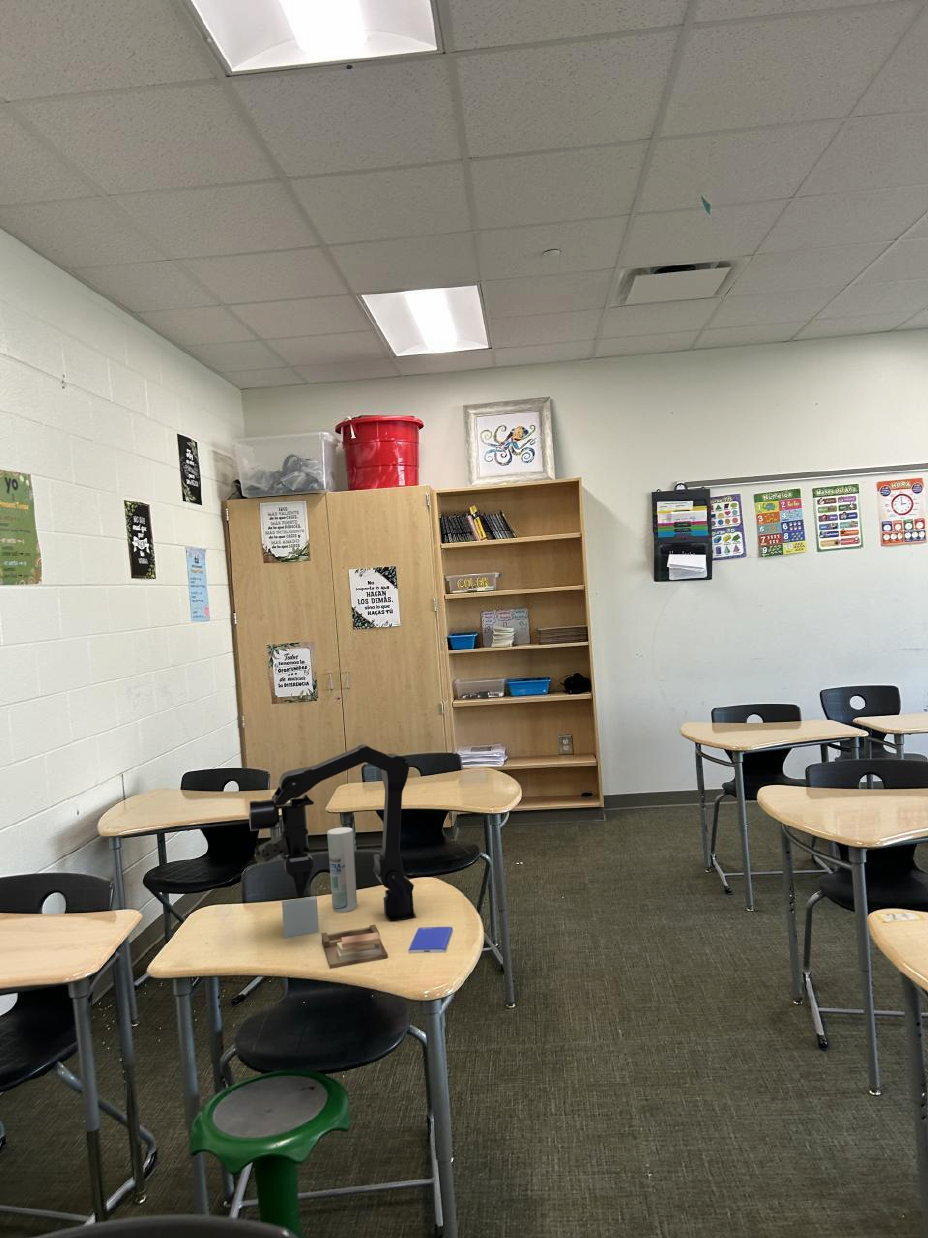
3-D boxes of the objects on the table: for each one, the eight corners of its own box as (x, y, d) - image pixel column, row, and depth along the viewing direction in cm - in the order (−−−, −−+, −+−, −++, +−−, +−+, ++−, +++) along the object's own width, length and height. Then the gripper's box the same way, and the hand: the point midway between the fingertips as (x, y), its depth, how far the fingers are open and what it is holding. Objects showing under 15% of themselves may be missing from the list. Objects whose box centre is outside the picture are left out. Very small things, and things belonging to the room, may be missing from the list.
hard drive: (417, 927, 188) (408, 948, 176) (452, 926, 187) (445, 948, 175) (418, 934, 188) (408, 956, 176) (453, 933, 187) (445, 955, 175)
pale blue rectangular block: (318, 929, 194) (315, 896, 194) (319, 933, 192) (316, 899, 192) (283, 935, 192) (281, 901, 192) (284, 938, 190) (282, 904, 190)
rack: (375, 933, 189) (374, 924, 189) (387, 958, 174) (387, 947, 174) (322, 943, 185) (321, 933, 185) (329, 968, 171) (329, 958, 171)
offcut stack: (378, 945, 179) (377, 930, 179) (382, 954, 174) (381, 938, 174) (336, 953, 177) (335, 937, 177) (339, 961, 172) (338, 945, 172)
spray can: (326, 910, 207) (321, 832, 208) (346, 902, 212) (341, 826, 213) (344, 914, 203) (338, 834, 204) (363, 906, 208) (357, 828, 208)
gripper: (258, 821, 199) (262, 885, 199) (261, 838, 181) (265, 908, 181) (304, 815, 202) (308, 878, 202) (311, 832, 184) (315, 901, 184)
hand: (298, 891), depth 192 cm, fingers open, 9 cm apart
